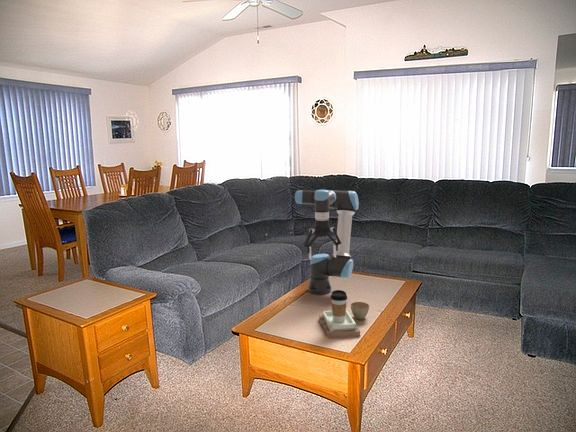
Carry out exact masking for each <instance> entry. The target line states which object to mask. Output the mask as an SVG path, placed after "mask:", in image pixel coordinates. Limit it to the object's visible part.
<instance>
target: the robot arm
mask: <svg viewBox="0 0 576 432" xmlns="http://www.w3.org/2000/svg"><path fill="white" fill-rule="evenodd" d="M294 201H295V203H296V204H300V205H314V219H315V220H314V228H309V229H308V233H307V236H306V237H305V240H304V242H303V247H304V248H305V247H306V252H307V253H308V259H309V267H310V268H309V271H310V272H309V273H310V274H309V275H310V279H309V280H308V281H309V282H308V285H307V291H308V293H310V294H314V295H326V294H329V293H332V285H331V281H330V279H329V277H334V278H335V277H336V278H340V279H342V278H346V279H347V278H350V277H351V275H352V274H353V273H352V272H353V270H354V263H355V262H354V259H352V256H351V254H350V244H351V234H352V222H353V216H354V215H355V214H356V211H357V210H359V207H360V206H359V205H360V202H359V196H358V194H357V192H356V191H354V190H330V189H329V190H328V189H316V190H301V189H300V190H296V192H295V194H294ZM330 209H333V210H335V209H336V212H337V214H338V217H337V226H336V227H337V228H335V227H334V226H332V227H330ZM314 232H315V233H314ZM330 232H332V234H333V235H334V238H335V239H336V240H335V239H334V238H333V237H332V236H331V234H330ZM313 233H314V235H313ZM312 235H313V236H312ZM319 237H320V238H322V237H328V239H330V241H331V242H332V243H333V246H332V247H333V250H332V251H333V253H332V255H331V256H330V255H329V254H328V253H317V254H313V255H312V247H311V246H312V245H313V244H314V242H315V241H316V239H318V238H319Z"/></svg>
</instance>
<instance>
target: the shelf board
mask: <svg viewBox="0 0 576 432" xmlns="http://www.w3.org/2000/svg"><path fill="white" fill-rule="evenodd" d="M318 320H319V323H320V324H321V327H322V329H323V331H324V333H325V335H326V337H327V339H336V338H337V339H338V338H350V337H352V338H353V337H361V330H360V329H359V327H358V326H357V324H356V330H344V331H330V330H329V328H328V326H327V324H326V322H325V320H324V318H323V314H319V315H318Z"/></svg>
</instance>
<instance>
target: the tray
mask: <svg viewBox="0 0 576 432" xmlns="http://www.w3.org/2000/svg"><path fill="white" fill-rule="evenodd" d="M322 315H323V318H324V320H325V322H326V324H327V326H328V328H329V330H330V331H344V330H356V325H357V323H356V322H355V319H353V317H352V316H351V314H350V313H349V311H348V310H347V309H346V313H345V321H344V322H343V323H335V322H333V314H332V310H322Z"/></svg>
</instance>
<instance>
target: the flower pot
mask: <svg viewBox="0 0 576 432" xmlns="http://www.w3.org/2000/svg"><path fill="white" fill-rule="evenodd" d="M350 310H351V313H352V315H353V317H354V319H356V320H364V319H365V318H366V317H367V315H368V313H369V310H370V304H369V303H367V302H363V301H354V302H351V303H350Z"/></svg>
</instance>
